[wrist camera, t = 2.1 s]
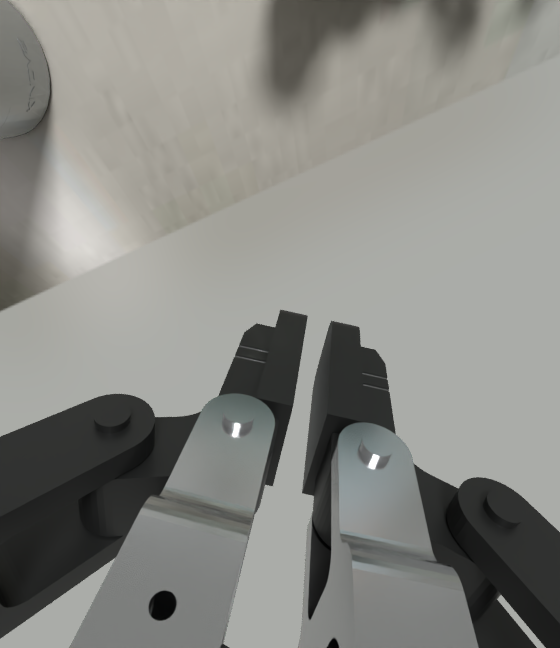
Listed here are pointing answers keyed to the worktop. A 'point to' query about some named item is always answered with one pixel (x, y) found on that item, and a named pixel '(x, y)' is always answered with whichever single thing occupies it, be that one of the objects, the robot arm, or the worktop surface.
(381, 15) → the worktop surface
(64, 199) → the worktop surface
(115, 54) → the worktop surface
